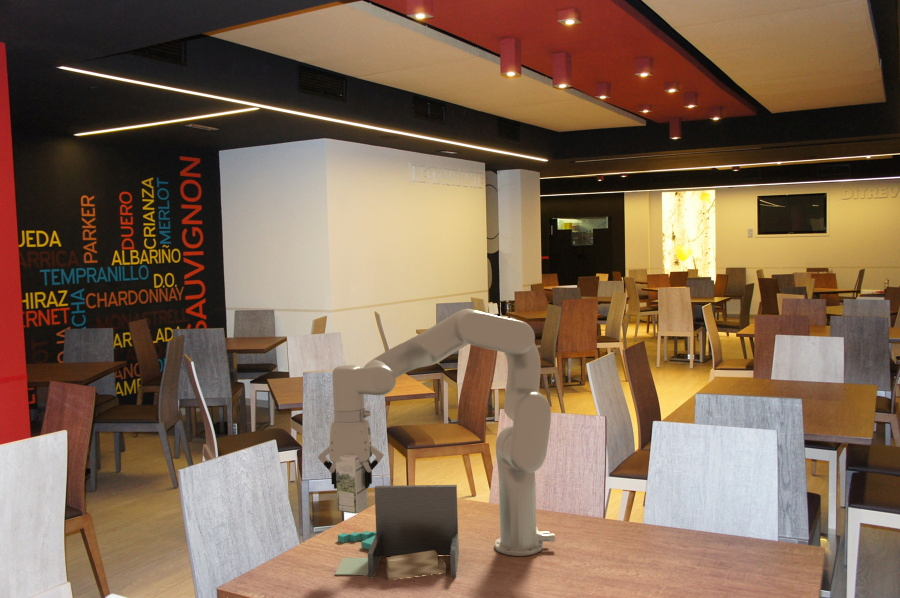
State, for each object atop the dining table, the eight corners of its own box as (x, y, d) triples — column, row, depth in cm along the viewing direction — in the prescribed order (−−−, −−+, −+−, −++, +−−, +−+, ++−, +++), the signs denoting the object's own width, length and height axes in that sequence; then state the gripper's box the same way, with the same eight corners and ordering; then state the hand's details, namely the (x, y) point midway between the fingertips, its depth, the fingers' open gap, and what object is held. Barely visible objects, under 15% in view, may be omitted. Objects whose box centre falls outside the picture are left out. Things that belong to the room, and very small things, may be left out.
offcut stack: (442, 569, 184) (442, 549, 184) (445, 574, 181) (445, 554, 180) (386, 576, 181) (385, 556, 180) (388, 582, 177) (387, 561, 177)
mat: (374, 558, 191) (374, 557, 191) (367, 575, 181) (367, 573, 181) (343, 559, 192) (343, 557, 192) (334, 575, 182) (334, 574, 182)
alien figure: (338, 543, 204) (392, 558, 192) (337, 535, 204) (392, 550, 192) (387, 521, 220) (440, 534, 208) (387, 513, 220) (440, 526, 208)
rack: (458, 553, 193) (456, 484, 192) (456, 577, 178) (453, 503, 177) (378, 554, 194) (375, 485, 193) (368, 578, 180) (365, 504, 179)
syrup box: (369, 507, 187) (367, 449, 186) (356, 514, 182) (354, 455, 181) (349, 504, 189) (347, 447, 189) (336, 512, 184) (334, 453, 183)
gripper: (386, 412, 188) (389, 482, 188) (318, 413, 189) (320, 483, 190) (382, 418, 180) (384, 491, 181) (310, 419, 181) (313, 492, 182)
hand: (352, 486), depth 185 cm, fingers closed on syrup box, 7 cm apart
